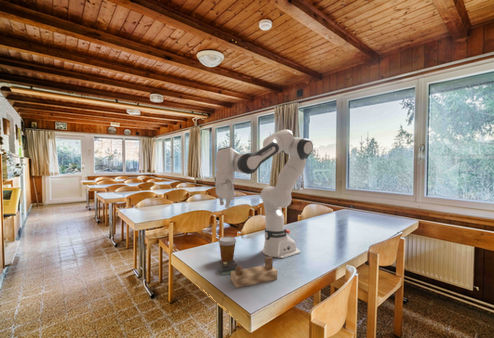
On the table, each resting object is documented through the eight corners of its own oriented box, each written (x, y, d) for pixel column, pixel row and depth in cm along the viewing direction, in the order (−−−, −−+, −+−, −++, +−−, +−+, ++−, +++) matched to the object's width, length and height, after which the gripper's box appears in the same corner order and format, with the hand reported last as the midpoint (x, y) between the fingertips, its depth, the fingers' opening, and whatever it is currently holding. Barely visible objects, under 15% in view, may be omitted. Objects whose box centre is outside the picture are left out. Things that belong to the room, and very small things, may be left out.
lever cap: (234, 266, 117) (234, 259, 117) (237, 269, 113) (237, 262, 113) (218, 268, 114) (219, 261, 114) (221, 272, 110) (221, 265, 110)
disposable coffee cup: (236, 257, 130) (236, 236, 130) (235, 264, 120) (236, 241, 120) (219, 257, 129) (219, 236, 129) (217, 264, 120) (217, 241, 120)
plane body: (269, 272, 112) (269, 254, 112) (277, 279, 105) (277, 259, 105) (229, 280, 104) (229, 260, 104) (234, 287, 97) (235, 266, 97)
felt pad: (233, 265, 119) (233, 264, 119) (238, 272, 111) (238, 271, 111) (218, 268, 116) (218, 267, 116) (222, 275, 108) (222, 274, 108)
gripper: (237, 180, 108) (237, 209, 108) (224, 178, 127) (224, 203, 127) (224, 180, 105) (224, 210, 106) (213, 178, 124) (213, 203, 124)
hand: (224, 206), depth 116 cm, fingers open, 8 cm apart
